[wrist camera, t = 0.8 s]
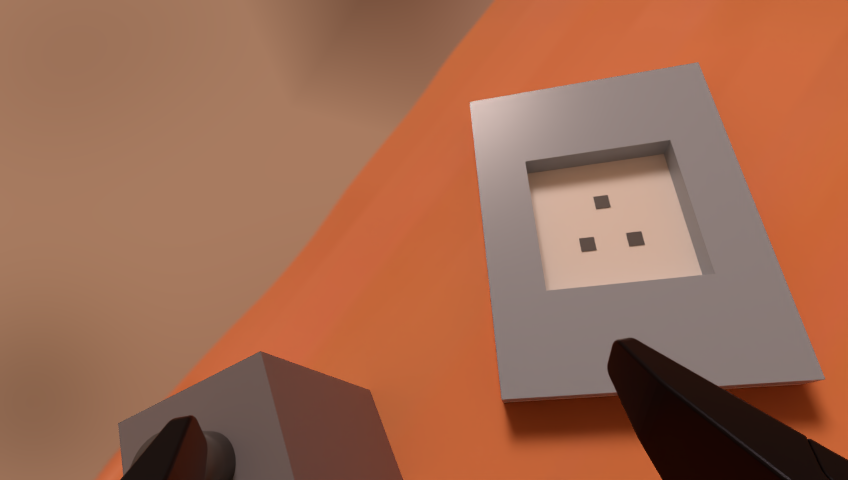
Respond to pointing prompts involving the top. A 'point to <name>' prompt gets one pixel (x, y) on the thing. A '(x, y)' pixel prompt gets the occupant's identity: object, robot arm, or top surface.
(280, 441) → the plug
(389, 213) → the top surface
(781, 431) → the robot arm
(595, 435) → the top surface
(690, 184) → the socket
